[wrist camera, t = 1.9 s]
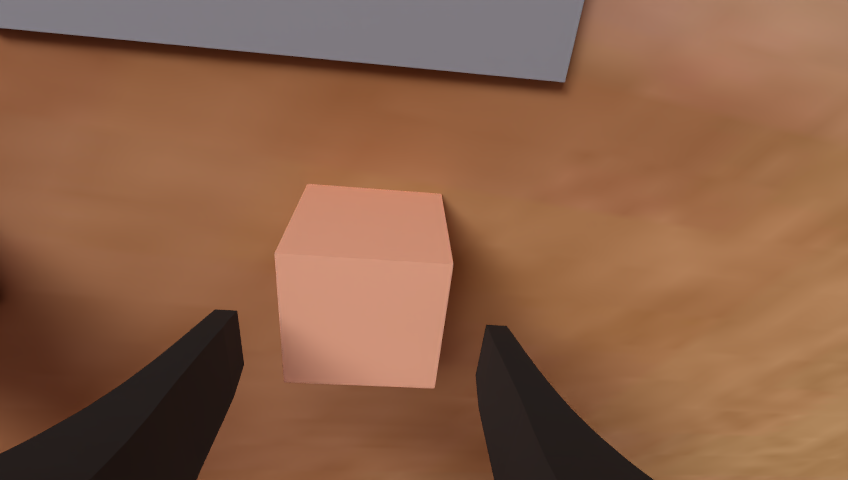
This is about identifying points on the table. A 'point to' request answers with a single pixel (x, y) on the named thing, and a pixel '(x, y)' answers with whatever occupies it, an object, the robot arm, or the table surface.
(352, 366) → the terracotta cube
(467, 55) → the gray placemat
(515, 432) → the robot arm
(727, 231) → the table surface
